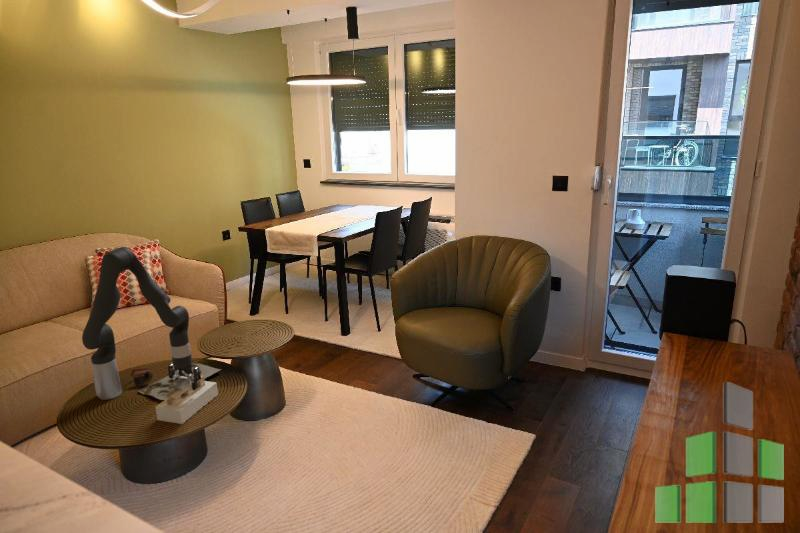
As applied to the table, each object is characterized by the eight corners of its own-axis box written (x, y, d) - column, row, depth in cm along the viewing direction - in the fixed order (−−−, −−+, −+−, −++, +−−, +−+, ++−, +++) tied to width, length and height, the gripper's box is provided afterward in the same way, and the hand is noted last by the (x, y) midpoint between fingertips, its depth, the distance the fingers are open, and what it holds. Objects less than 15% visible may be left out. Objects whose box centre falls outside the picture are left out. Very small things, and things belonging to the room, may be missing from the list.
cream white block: (180, 384, 213) (179, 377, 213) (187, 379, 217) (186, 372, 217) (189, 385, 212) (188, 378, 211) (196, 380, 216) (195, 373, 215)
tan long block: (167, 404, 206) (165, 394, 205) (195, 383, 223) (194, 374, 222) (177, 405, 205) (175, 396, 204) (205, 384, 222) (204, 375, 220)
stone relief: (137, 393, 228) (164, 403, 218) (136, 388, 228) (163, 398, 218) (197, 365, 255) (223, 373, 245) (196, 360, 255) (223, 368, 244)
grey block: (174, 389, 209) (172, 382, 208) (181, 384, 213) (180, 377, 212) (182, 390, 208) (181, 383, 207) (189, 385, 212) (188, 378, 211)
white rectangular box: (157, 420, 206) (155, 406, 204) (195, 391, 228) (193, 379, 227) (182, 424, 203) (180, 410, 201) (218, 394, 225) (216, 382, 223)
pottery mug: (125, 388, 234) (125, 370, 236) (141, 387, 243) (141, 370, 245) (146, 384, 230) (145, 366, 233) (161, 383, 239) (161, 366, 241)
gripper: (160, 355, 207) (166, 390, 212) (189, 359, 204) (195, 394, 208) (173, 348, 214) (178, 382, 219) (201, 351, 211) (206, 386, 215)
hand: (186, 388), depth 213 cm, fingers open, 8 cm apart
